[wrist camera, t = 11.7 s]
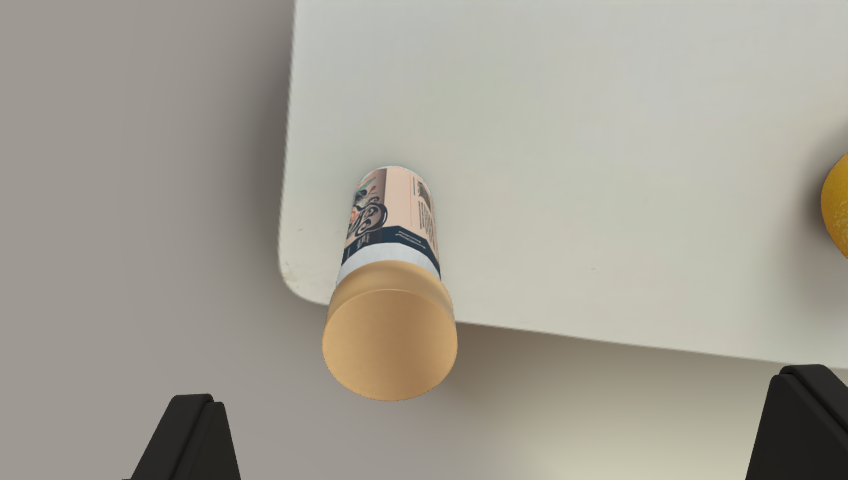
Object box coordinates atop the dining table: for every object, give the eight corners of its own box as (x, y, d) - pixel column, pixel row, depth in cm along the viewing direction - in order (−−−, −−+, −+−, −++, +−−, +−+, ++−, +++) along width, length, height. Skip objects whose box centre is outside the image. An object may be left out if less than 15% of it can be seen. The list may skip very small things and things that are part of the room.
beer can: (360, 156, 37) (341, 244, 26) (438, 170, 37) (453, 263, 26) (348, 228, 39) (326, 339, 28) (423, 241, 39) (430, 354, 28)
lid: (336, 369, 28) (331, 406, 26) (320, 263, 26) (312, 294, 24) (455, 361, 28) (460, 397, 26) (450, 254, 26) (455, 284, 24)
